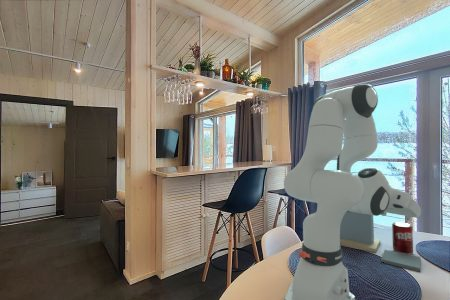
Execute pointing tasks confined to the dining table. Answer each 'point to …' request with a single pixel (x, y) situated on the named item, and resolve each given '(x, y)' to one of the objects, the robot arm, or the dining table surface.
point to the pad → (401, 260)
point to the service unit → (358, 232)
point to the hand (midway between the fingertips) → (396, 216)
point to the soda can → (402, 237)
